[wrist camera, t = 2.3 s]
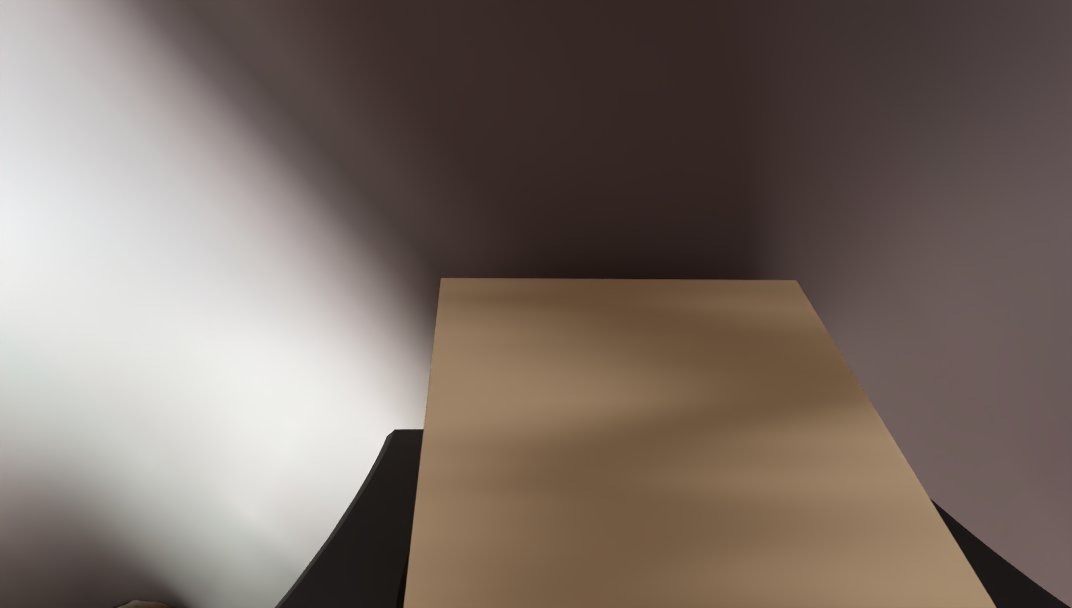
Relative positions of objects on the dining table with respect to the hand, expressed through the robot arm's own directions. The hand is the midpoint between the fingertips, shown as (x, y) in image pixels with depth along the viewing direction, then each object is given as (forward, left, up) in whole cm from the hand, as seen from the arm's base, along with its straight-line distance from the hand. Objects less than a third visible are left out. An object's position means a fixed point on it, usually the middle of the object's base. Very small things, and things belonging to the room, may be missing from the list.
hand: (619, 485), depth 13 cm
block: (0, 0, -1) cm, 1 cm away
